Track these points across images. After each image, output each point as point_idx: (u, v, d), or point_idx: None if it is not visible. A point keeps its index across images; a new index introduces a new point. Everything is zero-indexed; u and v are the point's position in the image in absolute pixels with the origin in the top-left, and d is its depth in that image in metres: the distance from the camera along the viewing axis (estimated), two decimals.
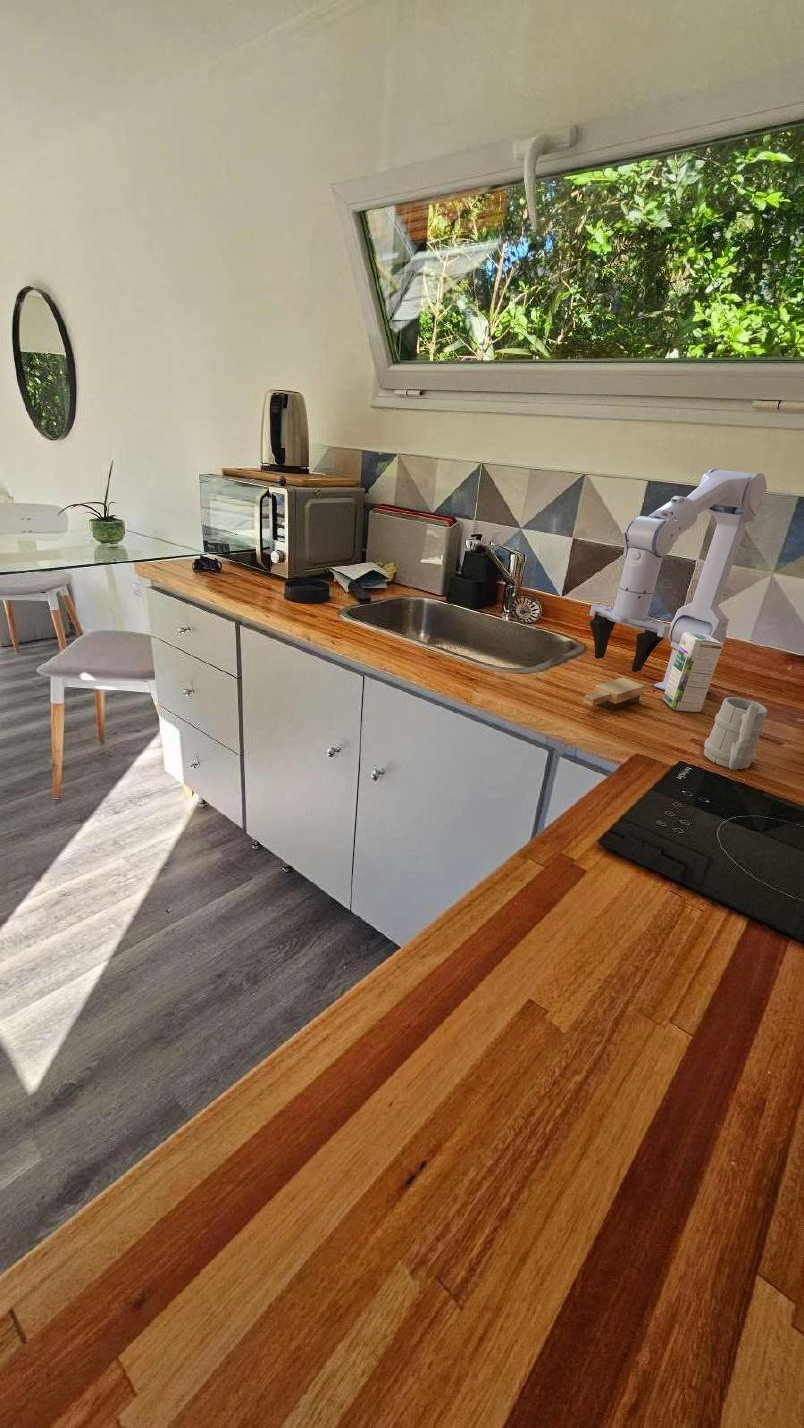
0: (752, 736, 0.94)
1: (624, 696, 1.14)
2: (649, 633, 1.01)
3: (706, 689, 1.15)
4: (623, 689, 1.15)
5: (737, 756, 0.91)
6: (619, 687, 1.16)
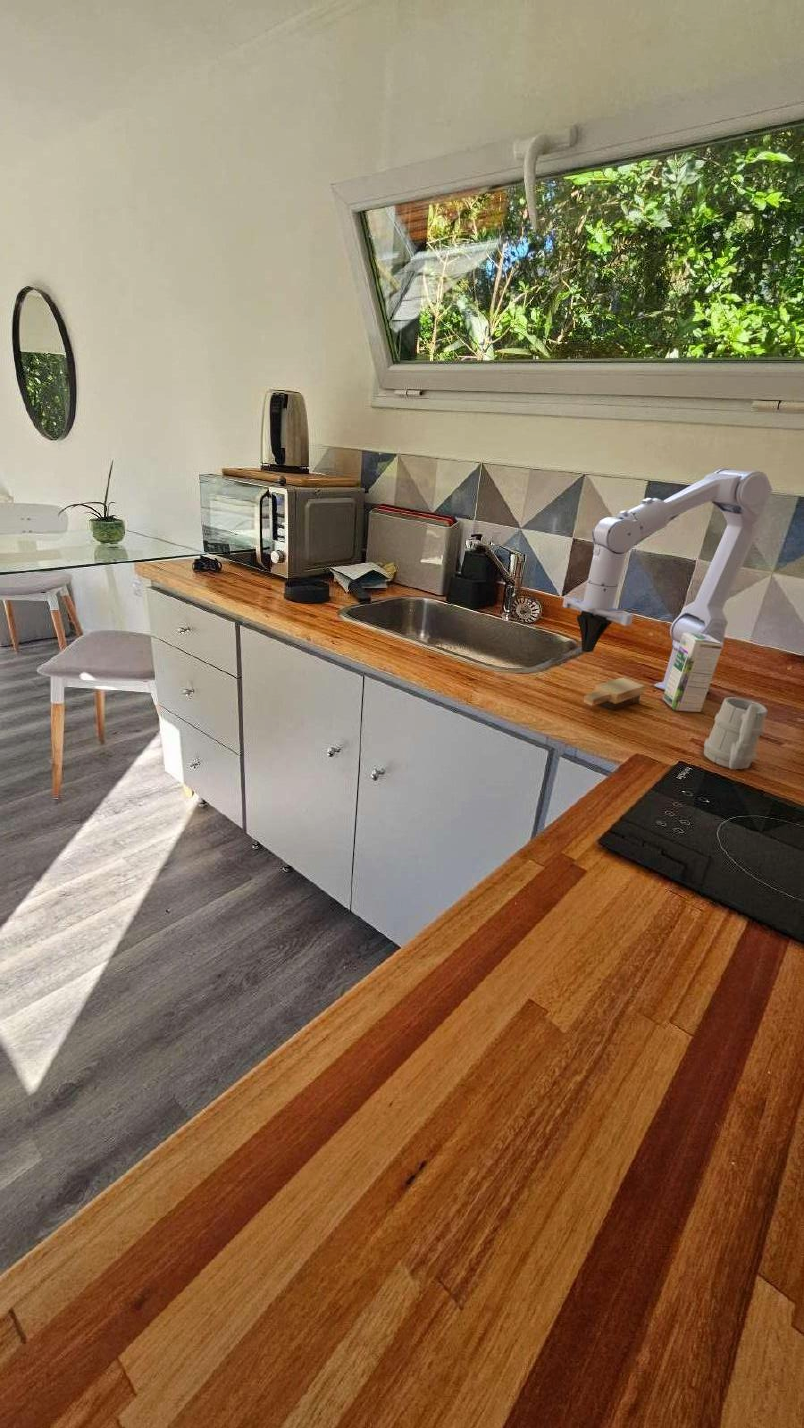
0: (752, 736, 0.94)
1: (624, 696, 1.14)
2: (598, 617, 1.15)
3: (706, 689, 1.15)
4: (623, 689, 1.15)
5: (737, 756, 0.91)
6: (619, 687, 1.16)
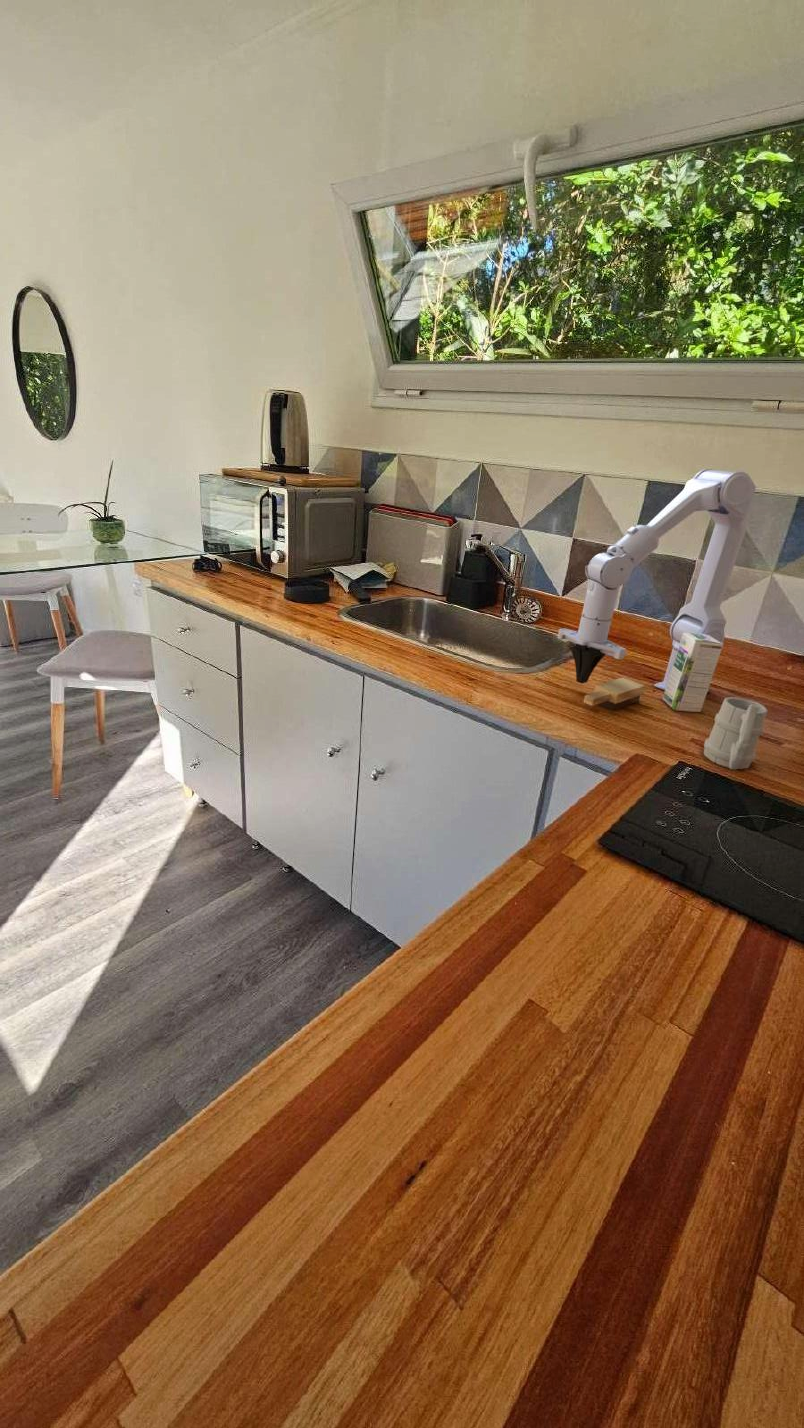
0: (752, 736, 0.94)
1: (624, 696, 1.14)
2: (592, 650, 1.18)
3: (706, 689, 1.15)
4: (623, 689, 1.15)
5: (737, 756, 0.91)
6: (619, 687, 1.16)
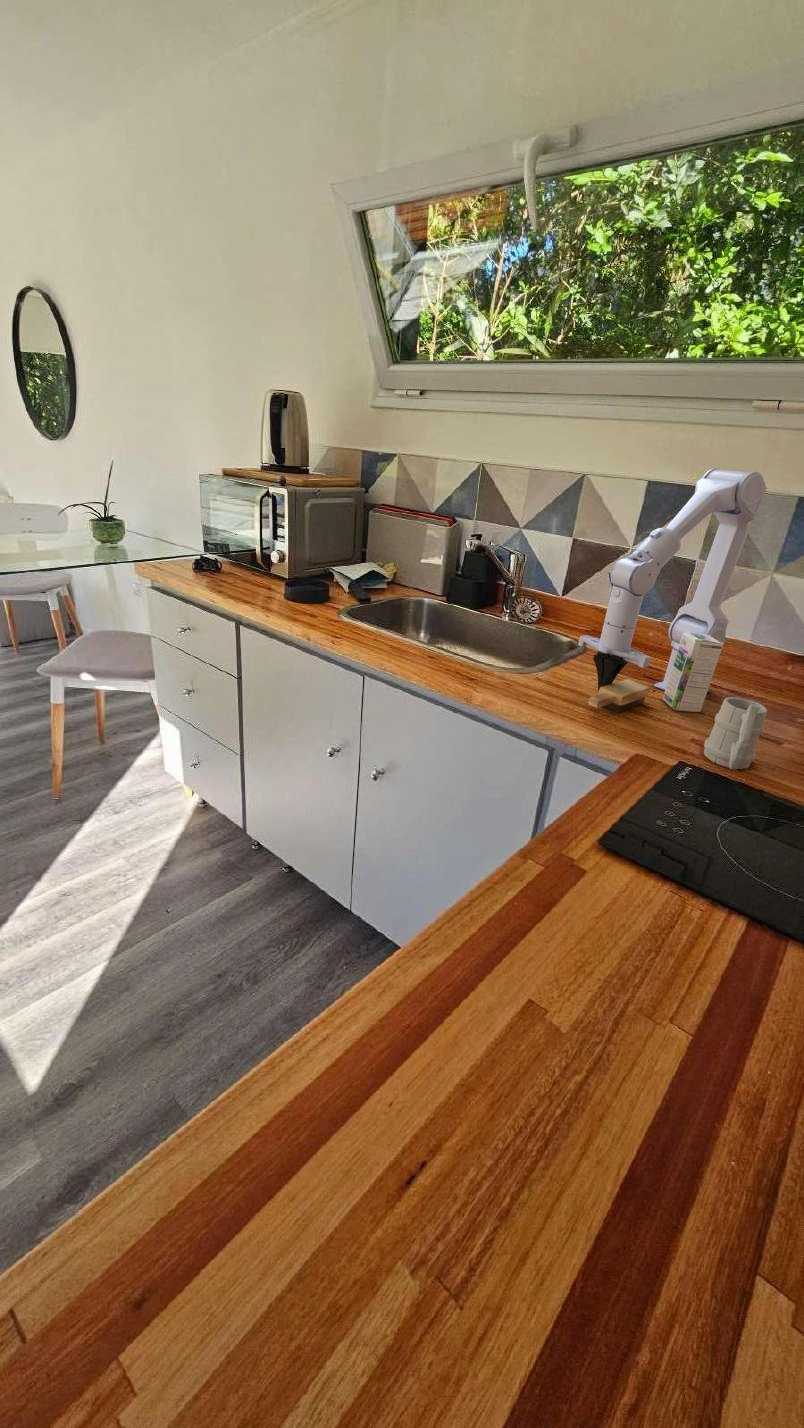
0: (752, 736, 0.94)
1: (629, 698, 1.13)
2: (615, 658, 1.14)
3: (706, 689, 1.15)
4: (628, 691, 1.14)
5: (737, 756, 0.91)
6: (624, 689, 1.15)
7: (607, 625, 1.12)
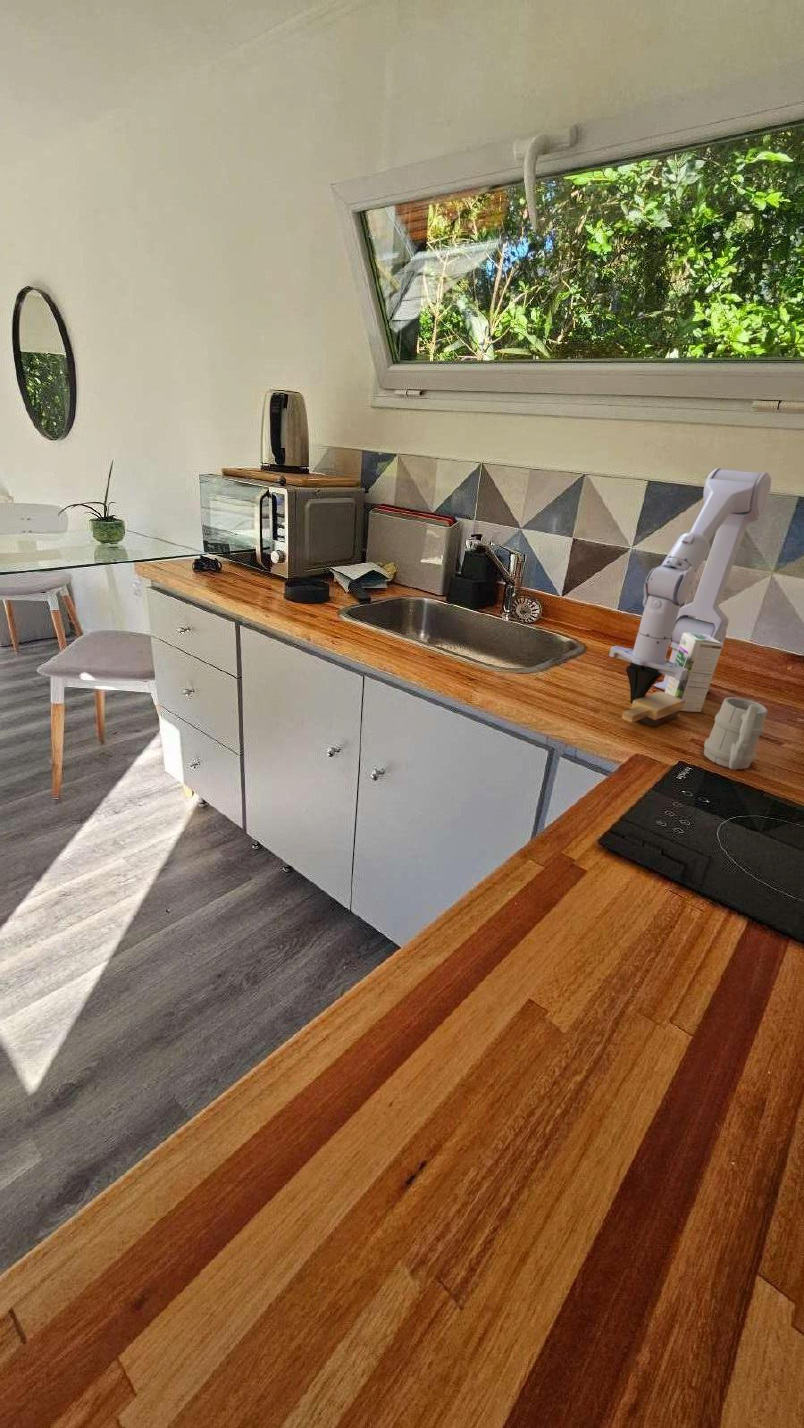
0: (752, 736, 0.94)
1: (663, 712, 1.09)
2: (649, 670, 1.09)
3: (706, 689, 1.15)
4: (663, 704, 1.09)
5: (737, 756, 0.91)
6: (658, 702, 1.10)
7: (642, 636, 1.07)
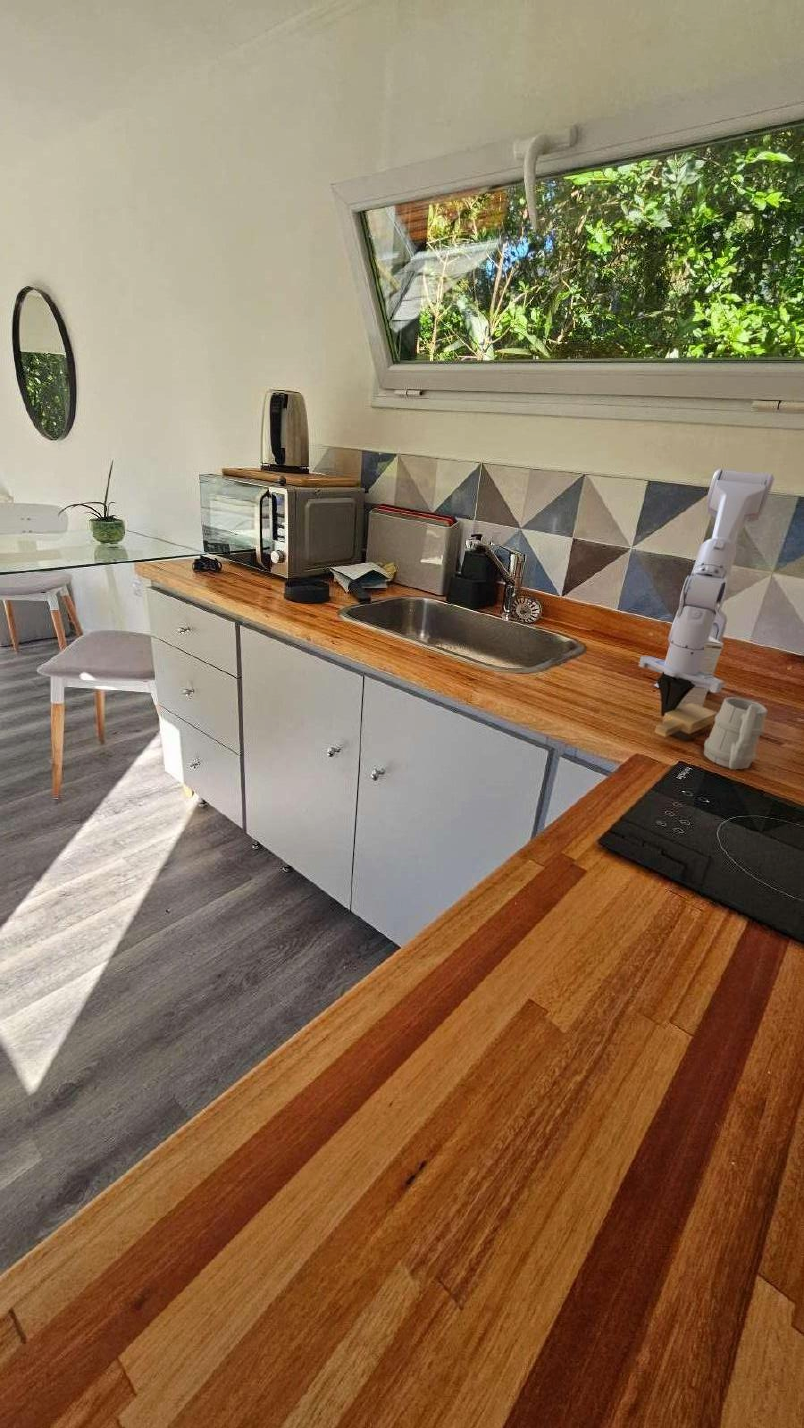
0: (752, 736, 0.94)
1: (697, 725, 1.04)
2: (682, 681, 1.05)
3: (706, 689, 1.15)
4: (696, 717, 1.05)
5: (737, 756, 0.91)
6: (691, 715, 1.06)
7: (675, 646, 1.03)
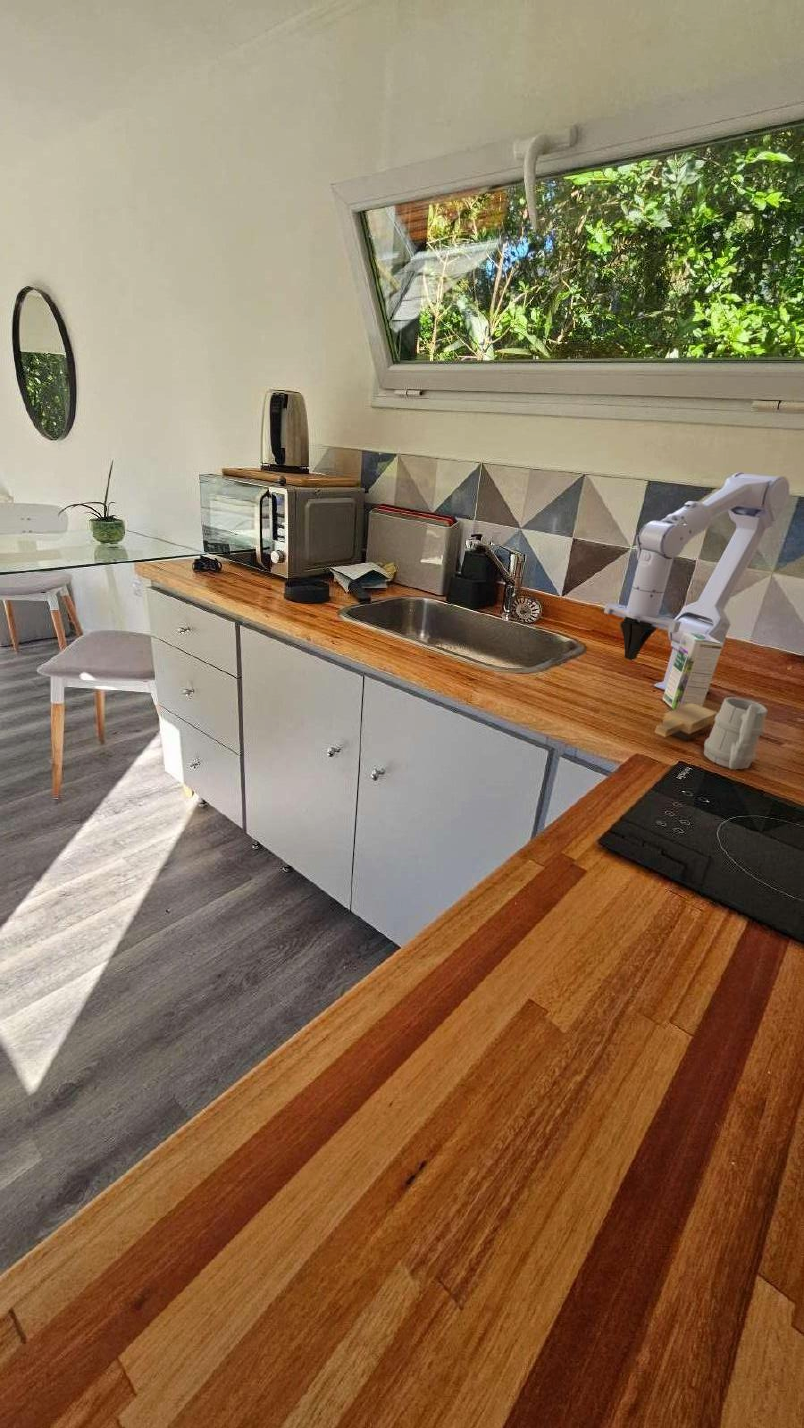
0: (752, 736, 0.94)
1: (697, 725, 1.04)
2: (643, 624, 1.12)
3: (706, 689, 1.15)
4: (696, 717, 1.05)
5: (737, 756, 0.91)
6: (691, 715, 1.06)
7: (635, 590, 1.10)
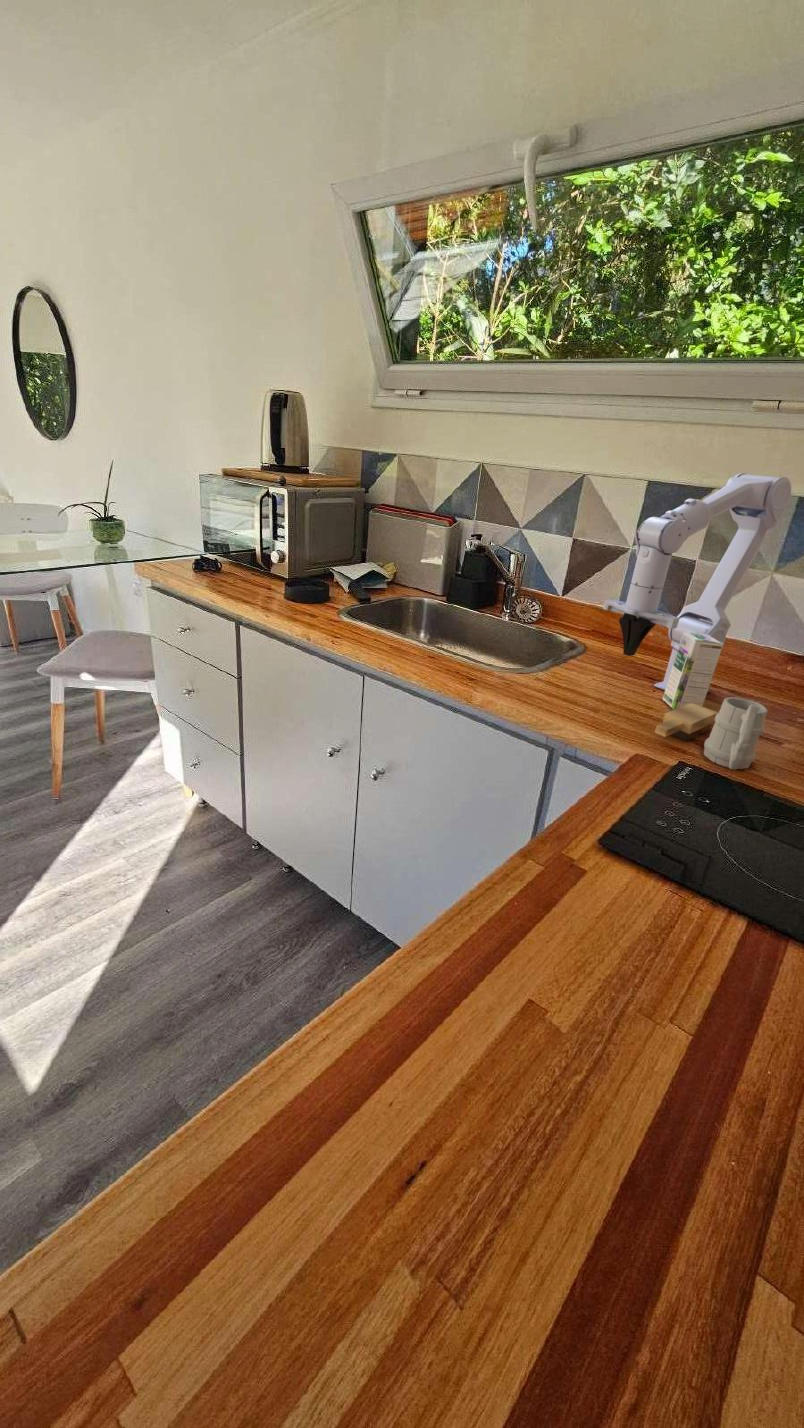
0: (752, 736, 0.94)
1: (697, 725, 1.04)
2: (642, 620, 1.12)
3: (706, 689, 1.15)
4: (696, 717, 1.05)
5: (737, 756, 0.91)
6: (691, 715, 1.06)
7: (634, 586, 1.10)
